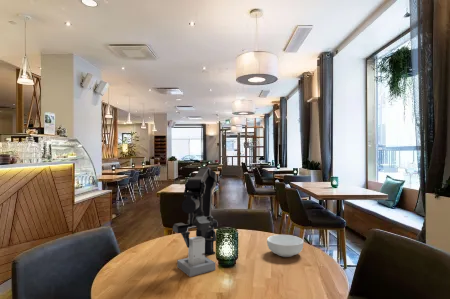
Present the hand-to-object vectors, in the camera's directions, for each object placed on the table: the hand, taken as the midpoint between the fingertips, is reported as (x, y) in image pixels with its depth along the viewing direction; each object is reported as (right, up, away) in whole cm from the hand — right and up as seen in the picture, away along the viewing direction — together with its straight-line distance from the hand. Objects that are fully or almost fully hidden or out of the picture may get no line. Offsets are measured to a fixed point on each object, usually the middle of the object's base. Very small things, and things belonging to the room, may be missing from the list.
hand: (196, 245), depth 121 cm
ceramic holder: (0, -10, 0) cm, 10 cm away
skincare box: (0, -9, 0) cm, 9 cm away
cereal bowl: (+41, -10, +16) cm, 45 cm away
